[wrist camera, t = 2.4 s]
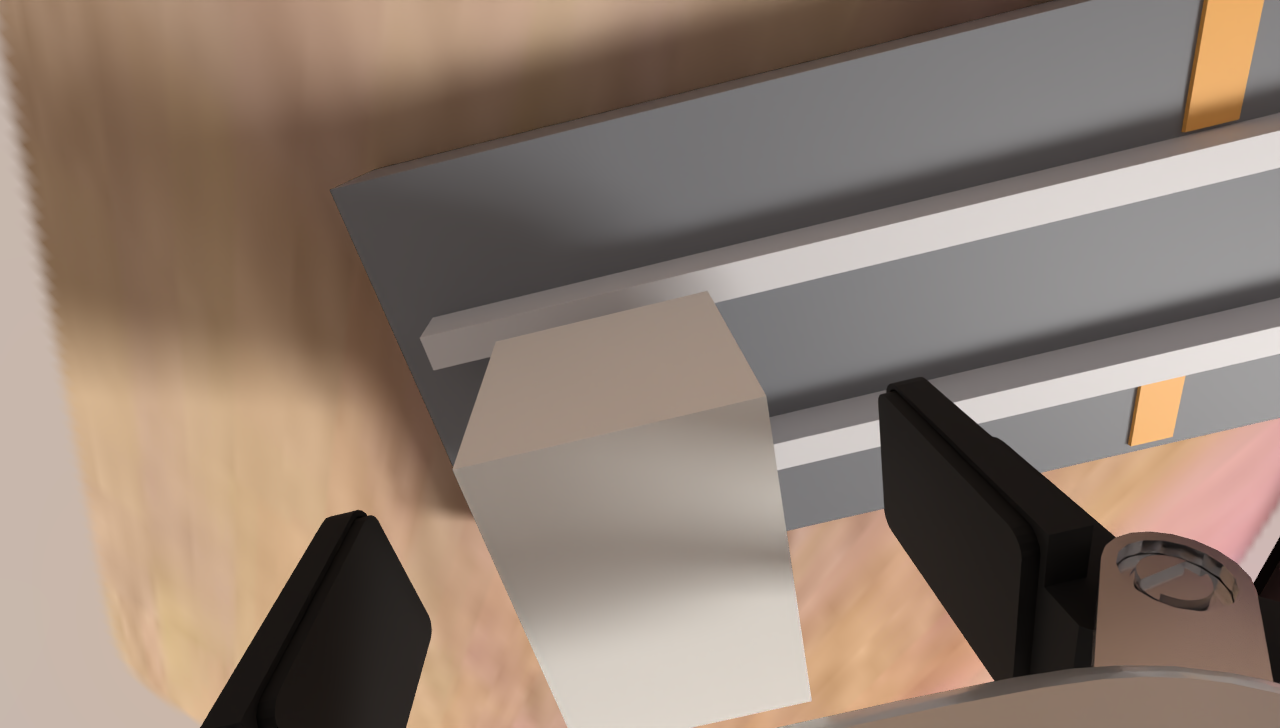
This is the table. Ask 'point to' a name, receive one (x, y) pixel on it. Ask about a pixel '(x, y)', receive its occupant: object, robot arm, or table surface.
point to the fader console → (893, 235)
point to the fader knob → (638, 517)
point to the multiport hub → (1270, 576)
